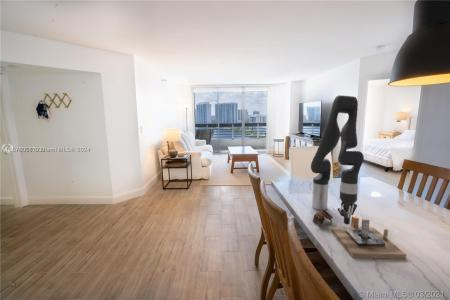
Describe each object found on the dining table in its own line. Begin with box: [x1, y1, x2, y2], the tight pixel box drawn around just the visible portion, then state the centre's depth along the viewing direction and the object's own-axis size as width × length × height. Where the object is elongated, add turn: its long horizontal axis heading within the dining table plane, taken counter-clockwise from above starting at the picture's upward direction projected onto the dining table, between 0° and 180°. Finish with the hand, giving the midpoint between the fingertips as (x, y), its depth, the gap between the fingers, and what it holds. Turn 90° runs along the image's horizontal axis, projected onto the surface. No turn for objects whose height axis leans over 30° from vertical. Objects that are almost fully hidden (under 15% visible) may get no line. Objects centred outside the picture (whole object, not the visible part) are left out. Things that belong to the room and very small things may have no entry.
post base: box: [330, 217, 407, 260], centre depth 100 cm, size 22×22×12 cm
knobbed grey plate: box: [346, 215, 385, 246], centre depth 102 cm, size 16×12×7 cm
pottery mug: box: [312, 210, 333, 225], centre depth 119 cm, size 12×10×8 cm
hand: (346, 223), depth 106 cm, fingers closed
